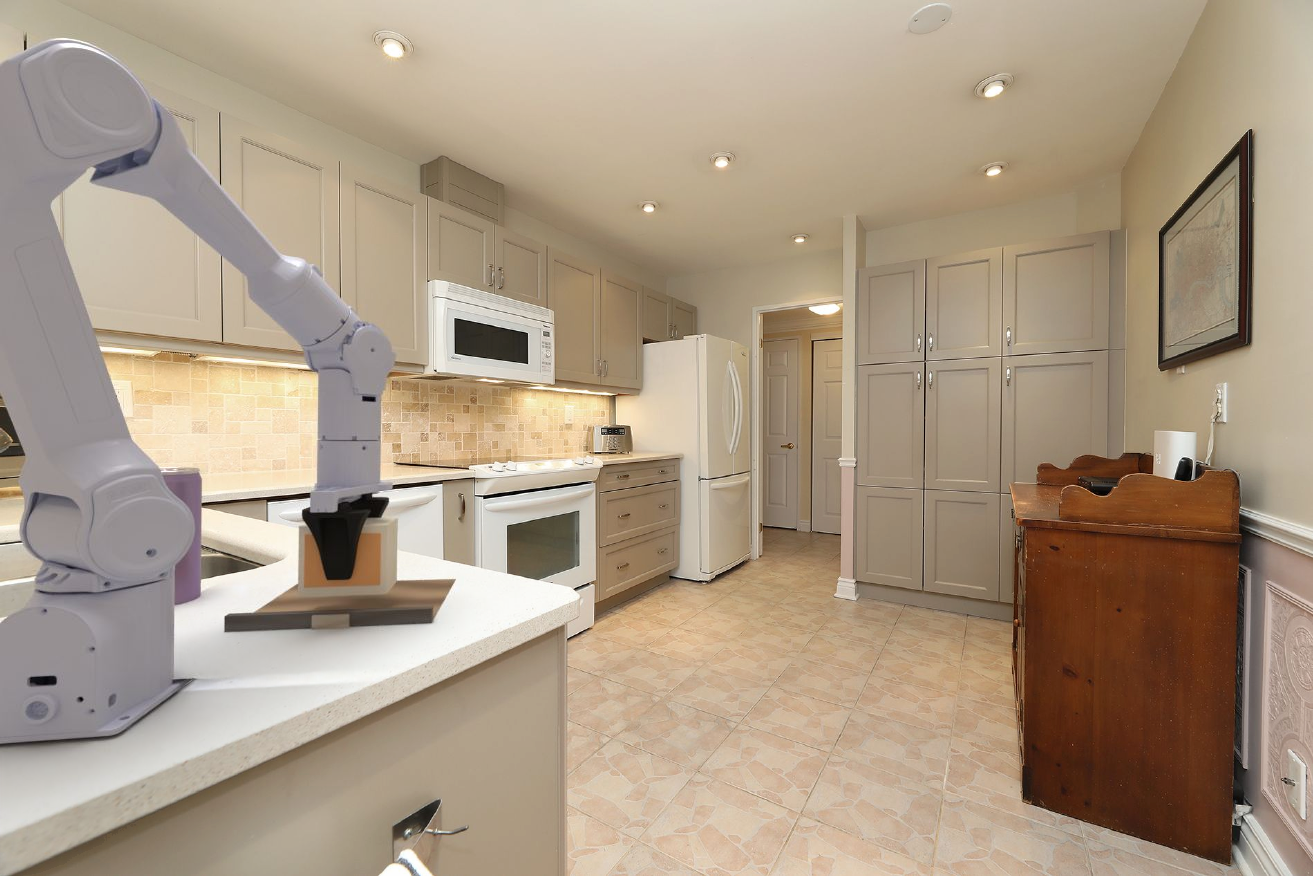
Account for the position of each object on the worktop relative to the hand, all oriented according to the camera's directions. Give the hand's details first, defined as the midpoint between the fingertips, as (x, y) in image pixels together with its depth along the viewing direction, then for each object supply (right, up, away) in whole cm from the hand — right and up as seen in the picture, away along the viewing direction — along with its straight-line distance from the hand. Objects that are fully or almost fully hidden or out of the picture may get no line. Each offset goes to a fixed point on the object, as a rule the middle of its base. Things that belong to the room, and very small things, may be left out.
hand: (348, 572), depth 58 cm
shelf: (-1, -5, +3) cm, 6 cm away
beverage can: (-21, -5, +2) cm, 22 cm away
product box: (0, -2, 0) cm, 2 cm away
